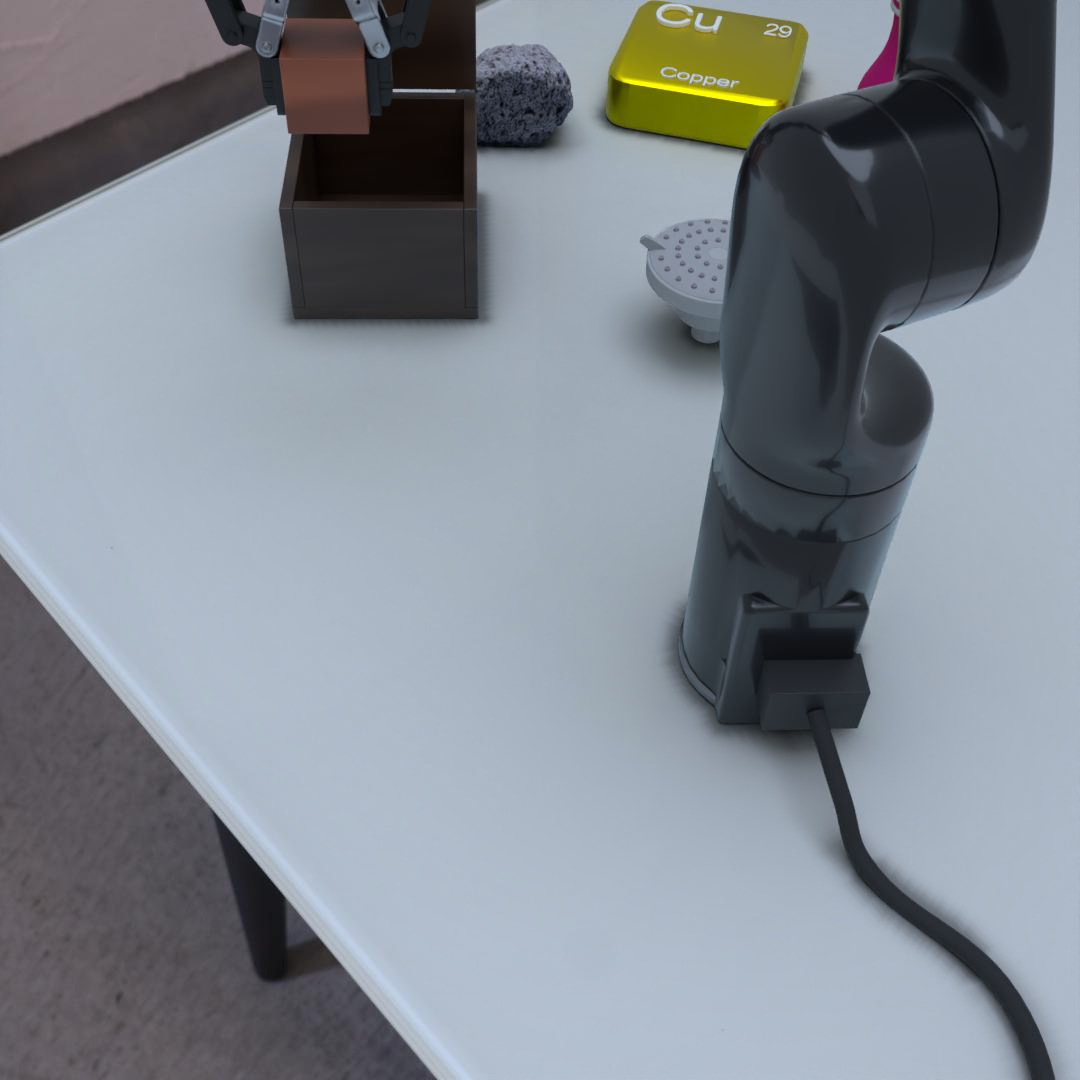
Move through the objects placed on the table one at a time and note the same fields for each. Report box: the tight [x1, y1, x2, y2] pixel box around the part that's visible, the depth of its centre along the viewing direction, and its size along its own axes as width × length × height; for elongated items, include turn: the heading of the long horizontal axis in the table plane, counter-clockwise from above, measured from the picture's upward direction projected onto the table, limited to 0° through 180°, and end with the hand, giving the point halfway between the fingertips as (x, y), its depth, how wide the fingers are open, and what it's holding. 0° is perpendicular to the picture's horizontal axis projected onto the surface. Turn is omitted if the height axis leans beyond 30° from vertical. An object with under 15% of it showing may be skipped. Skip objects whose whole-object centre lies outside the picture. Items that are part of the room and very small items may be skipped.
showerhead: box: [639, 218, 731, 344], centre depth 89 cm, size 9×7×10 cm
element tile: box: [605, 0, 809, 150], centre depth 111 cm, size 15×15×5 cm
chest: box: [278, 91, 479, 319], centre depth 93 cm, size 15×13×9 cm
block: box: [279, 17, 370, 135], centre depth 75 cm, size 5×5×5 cm
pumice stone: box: [454, 43, 574, 148], centre depth 106 cm, size 10×8×10 cm
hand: (331, 107), depth 76 cm, fingers closed on block, 4 cm apart
